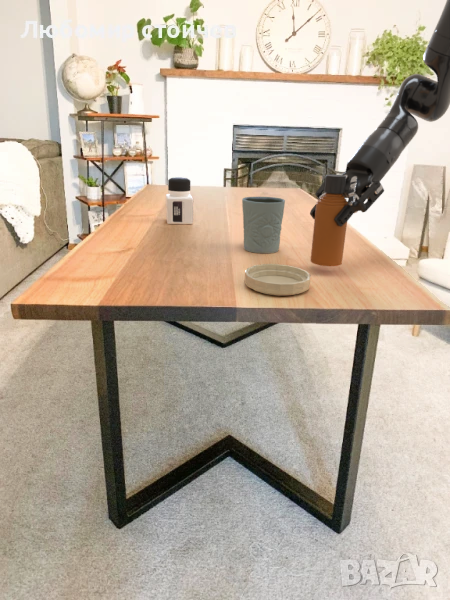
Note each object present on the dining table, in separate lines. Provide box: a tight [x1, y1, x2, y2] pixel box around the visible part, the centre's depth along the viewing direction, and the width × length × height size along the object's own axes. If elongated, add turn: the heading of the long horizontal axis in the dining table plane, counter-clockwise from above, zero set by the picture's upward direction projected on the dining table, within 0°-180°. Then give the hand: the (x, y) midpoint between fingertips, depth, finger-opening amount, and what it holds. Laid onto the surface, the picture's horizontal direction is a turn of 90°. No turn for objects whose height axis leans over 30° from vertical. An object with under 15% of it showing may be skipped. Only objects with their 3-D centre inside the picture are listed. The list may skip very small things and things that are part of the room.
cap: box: [323, 173, 346, 194], centre depth 86 cm, size 4×4×3 cm
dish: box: [244, 263, 312, 297], centre depth 83 cm, size 12×12×2 cm
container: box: [165, 176, 194, 225], centre depth 133 cm, size 8×8×13 cm
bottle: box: [310, 192, 348, 267], centre depth 89 cm, size 6×6×17 cm
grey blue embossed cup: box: [241, 196, 286, 254], centre depth 106 cm, size 10×10×12 cm
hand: (324, 220), depth 88 cm, fingers closed on bottle, 6 cm apart
